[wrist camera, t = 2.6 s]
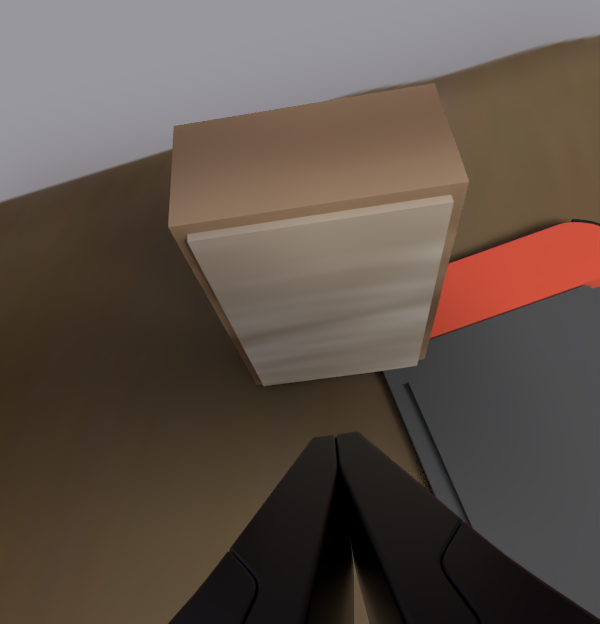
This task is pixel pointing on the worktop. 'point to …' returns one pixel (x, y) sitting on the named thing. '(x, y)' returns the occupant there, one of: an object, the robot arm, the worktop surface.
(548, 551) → the gaming console
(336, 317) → the tan wooden block
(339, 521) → the robot arm
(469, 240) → the worktop surface
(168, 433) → the worktop surface
